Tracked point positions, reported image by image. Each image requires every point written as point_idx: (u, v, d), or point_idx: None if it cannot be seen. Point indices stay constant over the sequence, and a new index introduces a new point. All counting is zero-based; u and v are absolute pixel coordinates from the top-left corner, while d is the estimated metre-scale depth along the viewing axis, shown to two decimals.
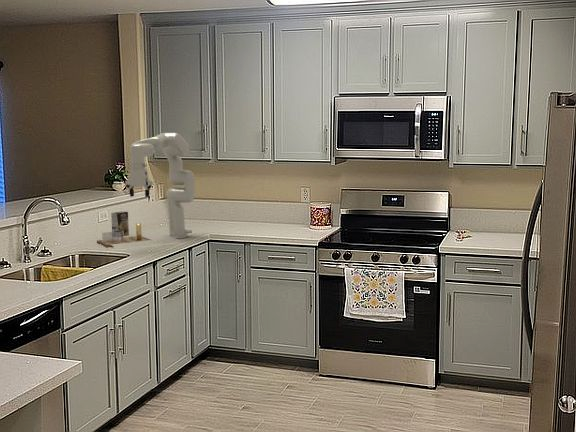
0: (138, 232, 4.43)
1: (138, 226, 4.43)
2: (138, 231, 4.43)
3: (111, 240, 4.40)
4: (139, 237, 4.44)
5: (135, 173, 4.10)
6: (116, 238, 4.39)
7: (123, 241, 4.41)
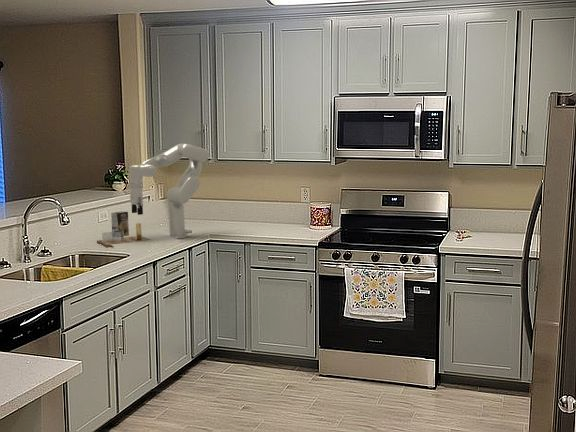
0: (138, 232, 4.43)
1: (138, 226, 4.43)
2: (138, 231, 4.43)
3: (111, 240, 4.40)
4: (139, 237, 4.44)
5: None
6: (116, 238, 4.39)
7: (123, 241, 4.41)
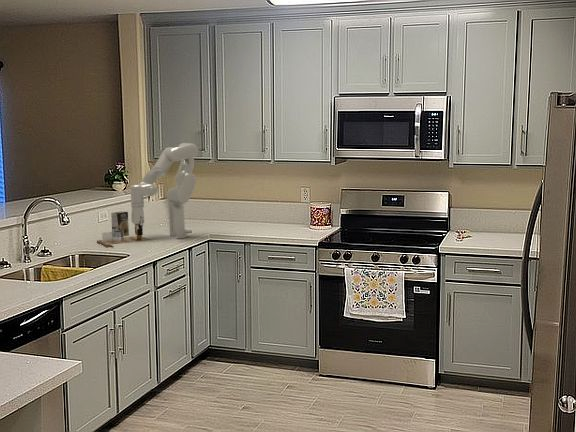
0: None
1: None
2: None
3: (111, 240, 4.40)
4: (139, 237, 4.44)
5: None
6: (116, 238, 4.39)
7: (123, 241, 4.41)
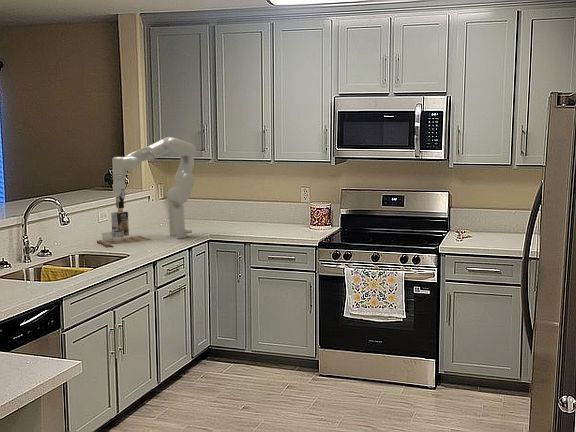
0: None
1: None
2: None
3: (111, 240, 4.40)
4: (120, 210, 4.39)
5: None
6: (116, 238, 4.39)
7: (123, 241, 4.41)
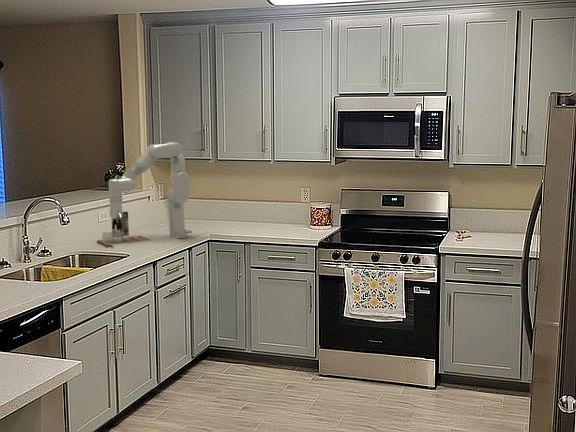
0: None
1: None
2: None
3: (111, 240, 4.40)
4: None
5: None
6: (116, 238, 4.39)
7: (123, 241, 4.41)
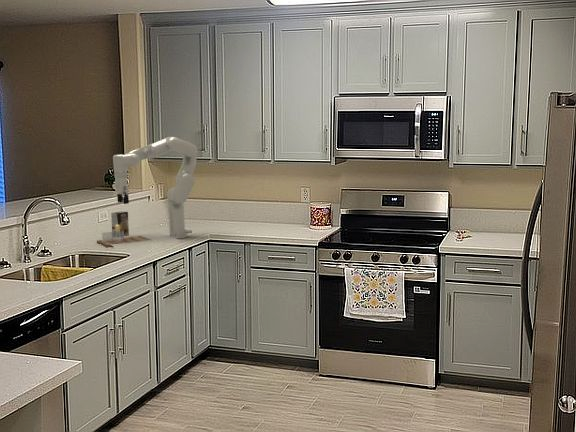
0: None
1: (117, 227, 4.40)
2: None
3: (111, 240, 4.40)
4: None
5: None
6: (116, 238, 4.39)
7: (123, 241, 4.41)
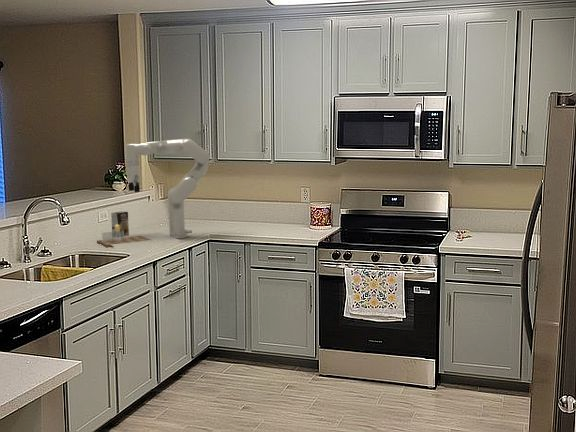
0: None
1: (117, 227, 4.40)
2: None
3: (111, 240, 4.40)
4: None
5: None
6: (116, 238, 4.39)
7: (123, 241, 4.41)
